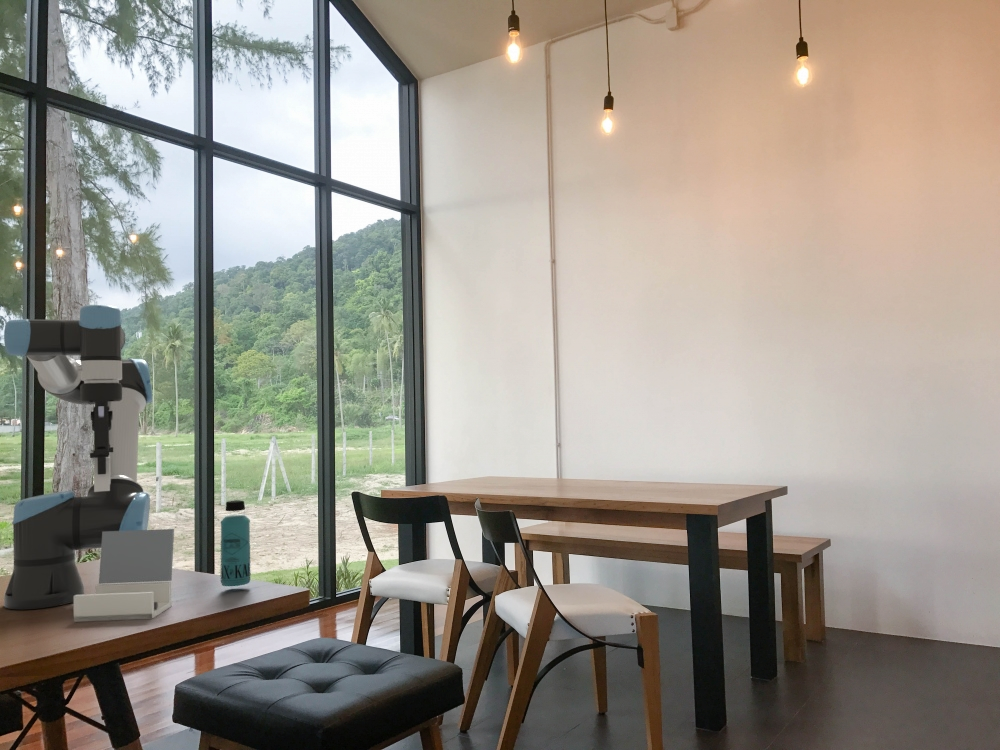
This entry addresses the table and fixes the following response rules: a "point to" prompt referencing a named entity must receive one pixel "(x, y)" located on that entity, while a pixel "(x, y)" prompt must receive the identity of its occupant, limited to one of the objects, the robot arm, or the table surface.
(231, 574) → the beverage bottle
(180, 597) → the table surface
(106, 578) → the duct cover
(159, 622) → the table surface
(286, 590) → the table surface
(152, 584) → the white boxy piece
